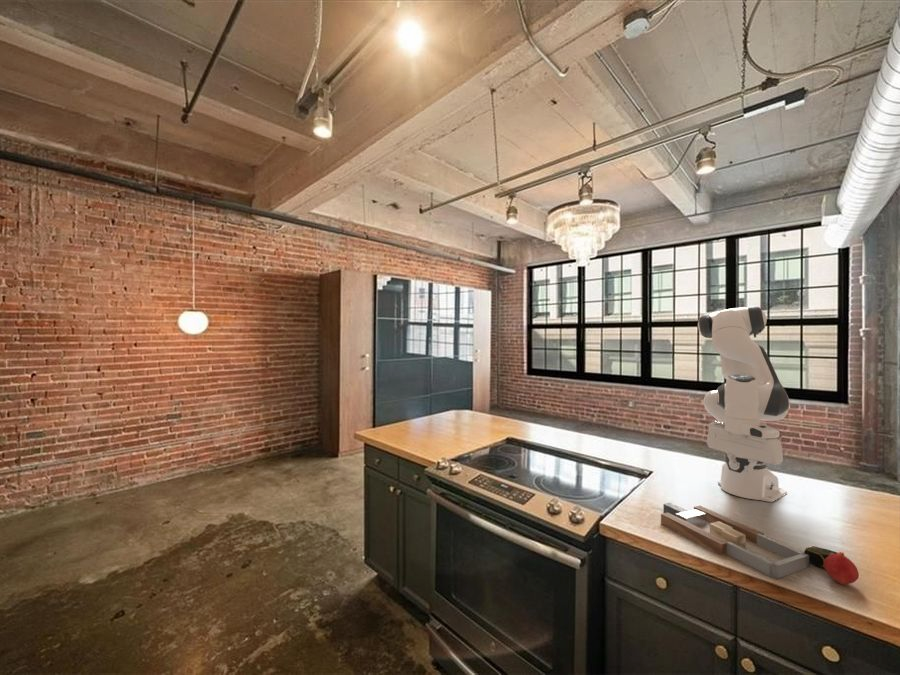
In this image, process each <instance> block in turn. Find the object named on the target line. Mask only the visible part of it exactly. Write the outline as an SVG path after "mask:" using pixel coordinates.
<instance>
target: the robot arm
mask: <svg viewBox="0 0 900 675" xmlns="http://www.w3.org/2000/svg"><path fill="white" fill-rule="evenodd" d="M767 320H768V319H767V315H766V313H765V311H764V310H762V308H761V307H759V306H748V307H733V308H728V309H727V308H726V309H723V310H719V311H715V312H712V313H711V312H709V313H704V314H703V315H701V316H700V317H699V318H698V322H697V329H698V331H699V334H701V336H702V337H704V338H707V339H711V340H712V345H713V348H714V350H715V351H716V352H717V354H719V356H720V364H721V371H722V376H723V378H724V379H725V383H724V382H723V383H722V384H721V385H719V386H718V387H717V388H716V390H715V389H714V390H709V391H708V392H707V393H706V394H705V395H704V398H703V402H702V403H703V406H704V409H705V410H706V412H707V413H708V414H709V415H711V416H712V418H714V419H715V420H713V421H711V422H709V423H708V432H707V437H706V438H707V439H706V445H707V447H708V448H709V449H711V450H716V451H720V452H723V453H724V455H723V456H724V457H723V458H724V462H725V463H723V464H722V466H721V475H720V480H717V484H718V485H719V486H720V489H722V490H723V491H724V492H726V493H727V494H731V495H732V496H733V495H734V496H737V497H740V498H743V499H744V498H745V499H749V500H757V501H763V502H769V503H773V501H774V502H775V500H776V501H777V499H778V498H779V499H781V498H782V497H781V496H783V495H784V494H786V493H787V494H788V492H787V490H785V489H783V488H781V487H779V478H778V476H777V475H776V474H774V473H773V472H772V471H770V470H769V469H768V467H767V464H768V465H771V466H775V465H780V464H782V462H784V461H783V460H784V453H783V445H782V442H781V441H780V440H779V439H778V438H779V437H780V431H779V430H777V429H776V428H774V427H771V426H769V425H767V424H765V423H763V422H762V421H765V422H767V421H768V422H769V421H770V422H771V421H779V420H783V419H784V418H785V417H786V416H787V415H788V413H789V406H790V398H789V396H788V393H787V391H786V389H785V388H784V386H783V384H782V383H781V381H780V379H779V378H778V375H777V373H776V370H775V369H774V366H773V363H772V362H771V359H770V357H769V355H768V353H767V352H766V350H765V349H764V347H763V346H761V345H760V344H757V343H756V342H755V341H753V339H752V338H751V336H752V335H753V337H754V339H755V338H757V335H759V334H761V333H762V332H763V331H764V329H766V325H767ZM787 494H786V495H787ZM784 496H785V495H784ZM784 496H783V497H784ZM780 497H781V498H780ZM779 499H778V500H779Z"/></svg>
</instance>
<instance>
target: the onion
mask: <svg viewBox="0 0 900 675" xmlns="http://www.w3.org/2000/svg"><path fill="white" fill-rule="evenodd" d="M823 569H824V570H825V571H826V573H827V574H828V576H830V577H831V579H833V580H834V581H835V582H836V583H838V584H839V585H840V586H841V585H842V586H846V585H849V584H853V583H855V582H857V581H858V579H859V576H860V575H859V571H858V567H857V566H856V564H855V563H854V562H853V561H852V560H850V559H849V557H847V556H846V555H845V552H843V551H839V552H837V553H836V554H831V555H829V556H828V557H827V558H826V559H825V560H824V568H823Z"/></svg>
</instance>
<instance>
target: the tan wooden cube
mask: <svg viewBox="0 0 900 675" xmlns="http://www.w3.org/2000/svg"><path fill="white" fill-rule="evenodd" d="M729 528H732V529H733V527H730V526H728V525H726V524H724V523H722V522H720V521H718V522H714V523H710V522H709V533H711V534H713V535H715V536H717V537H719V538H721V530H725V529H729Z"/></svg>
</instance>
